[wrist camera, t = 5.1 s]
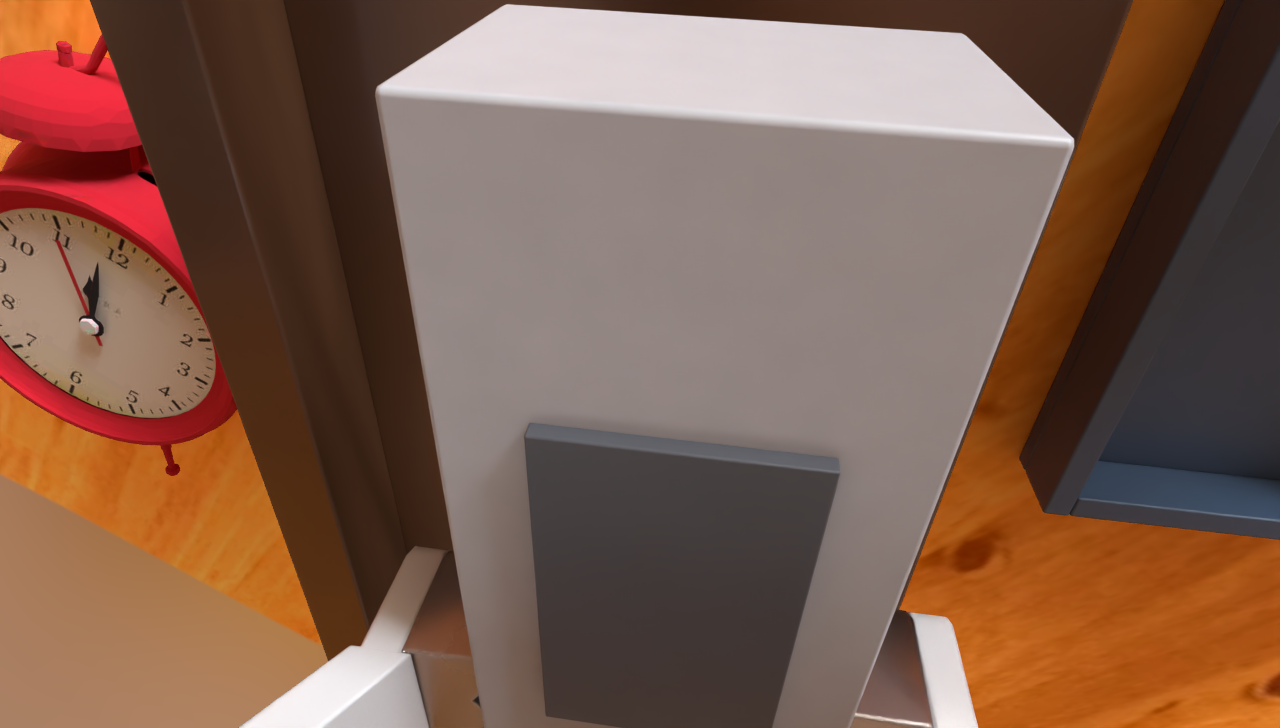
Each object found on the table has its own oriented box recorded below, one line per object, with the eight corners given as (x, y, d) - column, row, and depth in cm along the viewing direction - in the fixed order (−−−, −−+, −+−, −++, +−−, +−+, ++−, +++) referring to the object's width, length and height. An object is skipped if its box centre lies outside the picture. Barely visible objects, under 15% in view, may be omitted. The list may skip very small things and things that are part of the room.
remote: (502, 2, 7) (354, 94, 5) (966, 31, 7) (1096, 152, 4) (554, 762, 16) (513, 942, 13) (758, 794, 16) (757, 986, 13)
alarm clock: (-100, 360, 24) (-225, -23, 14) (51, 248, 28) (43, -110, 18) (202, 515, 27) (288, 292, 16) (299, 391, 31) (417, 152, 21)
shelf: (962, -117, 16) (1271, -66, 7) (825, 452, 26) (867, 810, 16) (441, -141, 17) (41, -127, 8) (496, 416, 27) (353, 733, 17)
